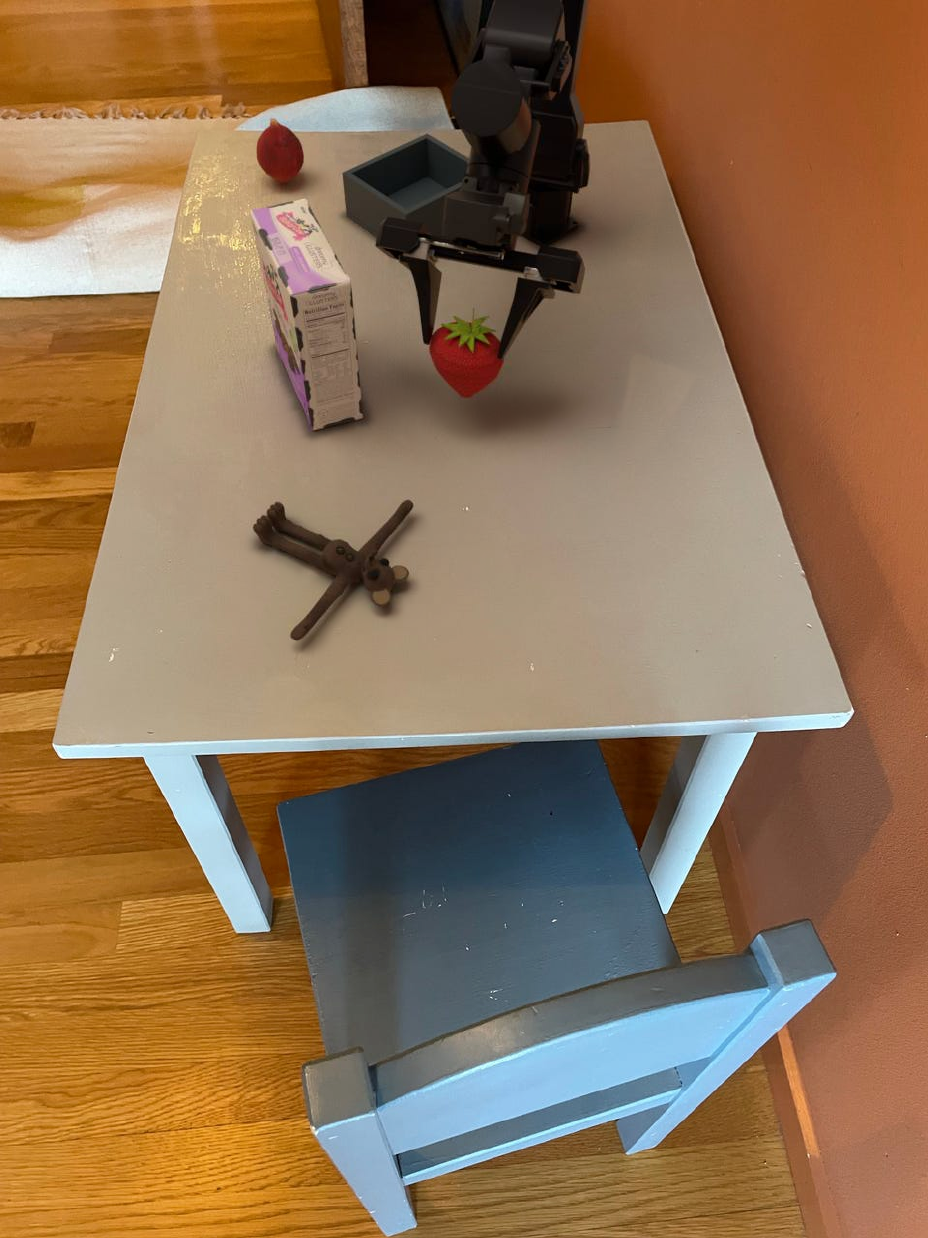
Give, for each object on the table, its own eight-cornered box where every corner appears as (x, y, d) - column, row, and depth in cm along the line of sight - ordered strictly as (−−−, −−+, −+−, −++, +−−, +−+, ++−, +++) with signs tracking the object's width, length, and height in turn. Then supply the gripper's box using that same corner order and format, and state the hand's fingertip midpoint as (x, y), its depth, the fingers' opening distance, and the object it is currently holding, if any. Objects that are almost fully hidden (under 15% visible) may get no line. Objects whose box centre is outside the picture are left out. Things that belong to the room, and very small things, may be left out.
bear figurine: (321, 448, 86) (450, 499, 81) (329, 480, 89) (454, 531, 84) (195, 577, 77) (332, 643, 72) (210, 608, 81) (341, 673, 76)
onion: (313, 173, 118) (305, 110, 111) (298, 197, 115) (289, 134, 108) (270, 166, 119) (260, 103, 112) (255, 190, 115) (243, 127, 109)
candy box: (274, 348, 99) (247, 206, 85) (326, 336, 100) (307, 194, 86) (311, 433, 91) (287, 293, 78) (366, 418, 93) (352, 278, 79)
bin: (428, 175, 118) (427, 132, 113) (489, 214, 113) (491, 171, 109) (346, 216, 113) (342, 172, 108) (407, 258, 108) (405, 214, 103)
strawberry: (447, 364, 93) (446, 281, 85) (512, 389, 92) (518, 306, 83) (418, 399, 91) (415, 317, 82) (485, 426, 89) (488, 344, 80)
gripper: (374, 127, 75) (341, 320, 78) (595, 164, 72) (551, 362, 76) (407, 167, 86) (377, 336, 89) (601, 201, 83) (562, 374, 86)
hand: (462, 351), depth 85 cm, fingers closed on strawberry, 7 cm apart
